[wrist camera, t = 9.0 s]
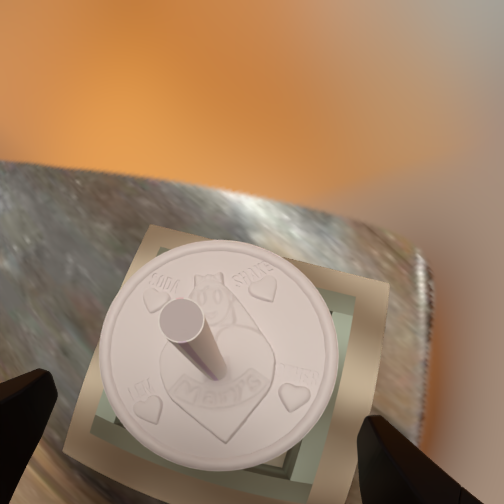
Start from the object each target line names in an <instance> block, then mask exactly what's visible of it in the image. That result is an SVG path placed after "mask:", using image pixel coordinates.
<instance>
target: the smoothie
mask: <svg viewBox="0 0 504 504" xmlns="http://www.w3.org/2000/svg"><path fill="white" fill-rule="evenodd" d="M338 360H339V352H338V340H337V334H336V330H335V326H334V322H333V319H332V316H331V314H330V311H329V309H328V307H327V305H326V303H325V301H324V299H323V298H322V296H321V295H320V293H319V291H318V290H317V289H316V287H315V286H314V285H313V283H312V282H311V281H310V280H309V279H308V278H307V277H306V276H305V275H304V274H303V273H302V272H301V271H300V270H299V269H298V268H296V267H295V266H294V265H292V264H291V263H290V262H288V261H287V260H285V259H284V258H282V257H280V256H279V255H277V254H275V253H273V252H271V251H269V250H266V249H264V248H261V247H259V246H255V245H252V244H248V243H243V242H238V241H229V240H208V241H200V242H194V243H190V244H186V245H182V246H179V247H176V248H173V249H171V250H169V251H167V252H164V253H162V254H161V255H159V256H157V257H155V258H154V259H152V260H151V261H149V262H148V263H146V264H145V265H144V266H142V267H141V268H140V269H139V270H137V271H136V272H135V273H134V274H133V275H132V276H131V277H130V278H129V279H128V281H127V282H126V283H125V284H124V285H123V287H122V288H121V289H120V291H119V292H118V294H117V295H116V297H115V299H114V300H113V302H112V304H111V306H110V308H109V310H108V312H107V315H106V318H105V321H104V323H103V327H102V332H101V337H100V344H99V367H100V374H101V379H102V383H103V387H104V390H105V393H106V396H107V398H108V401H109V403H110V405H111V407H112V409H113V411H114V412H115V414H116V416H117V417H118V419H119V420H120V422H121V423H122V424H123V425H124V427H125V428H126V429H127V430H128V431H129V433H130V434H131V435H132V436H133V437H134V438H135V439H136V440H138V441H139V442H140V443H141V444H142V445H144V446H145V447H146V448H148V449H149V450H151V451H152V452H154V453H155V454H157V455H159V456H160V457H162V458H164V459H166V460H168V461H171V462H173V463H176V464H178V465H182V466H185V467H188V468H193V469H198V470H205V471H233V470H240V469H245V468H249V467H253V466H256V465H259V464H262V463H265V462H267V461H269V460H272V459H274V458H276V457H278V456H279V455H281V454H283V453H284V452H286V451H287V450H289V449H290V448H292V447H293V446H294V445H295V444H297V443H298V442H299V441H300V440H301V439H302V438H303V437H304V436H305V435H306V434H307V433H308V432H309V431H310V430H311V429H312V428H313V426H314V425H315V424H316V423H317V421H318V420H319V418H320V417H321V415H322V414H323V412H324V410H325V408H326V406H327V404H328V402H329V400H330V397H331V395H332V392H333V389H334V385H335V382H336V377H337V371H338Z"/></svg>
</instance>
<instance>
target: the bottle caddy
mask: <svg viewBox="0 0 504 504" xmlns="http://www.w3.org/2000/svg"><path fill="white" fill-rule="evenodd" d="M208 240H213V239H209V238H205V237H201V236H197V235H193V234H189V233H185V232H181V231H176V230H172V229H168V228H164V227H160V226H156V225H152V224H150V226H149V228H148V230H147V232H146V234H145V236H144V238H143V240H142V243H141V245H140V247H139V249H138V251H137V253H136V255H135V257H134V259H133V262H132V264H131V266H130V268H129V270H128V272H127V275H126V277H125V279H124V281H123V284H122V286H121V288H122V287H123V285H124V284H125V283H126V282H127V281H128V279H129V278H130V277H131V276H132V275H133V274H134V273H135V272H136V271H137V270H139V269H140V268H141V267H142V266H144V265H145V264H146V263H148V262H149V261H151V260H152V259H154V258H155V257H157V256H159V255H161V254H162V253H164V252H167V251H169V250H171V249H173V248H176V247H179V246H182V245H186V244H190V243H194V242H200V241H208ZM280 257H281V256H280ZM282 258H284V259H285V260H287V261H288V262H290V263H291V264H292V265H294V266H295V267H296V268H298V269H299V270H300V271H301V272H302V273H303V274H304V275H305V276H306V277H307V278H308V279H309V280H310V281H311V282H312V283H313V285H314V286H315V287H316V289H317V290H318V291H319V293H320V295H321V296H322V298H323V299H324V301H325V303H326V305H327V307H328V309H329V311H330V314H331V316H332V319H333V322H334V326H335V330H336V334H337V340H338V352H339V360H338V371H337V377H336V382H335V385H334V389H333V392H332V395H331V397H330V400H329V402H328V404H327V406H326V408H325V410H324V412H323V414H322V415H321V417H320V418H319V420H318V421H317V423H316V424H315V425H314V426H313V428H312V429H311V430H310V431H309V432H308V433H307V434H306V435H305V436H304V437H303V438H302V439H301V440H300V441H299V442H298V443H297V444H295V445H294V446H293V447H292V448H290V449H289V450H287V451H286V452H284V453H283V454H281V455H279V456H278V457H276V458H274V459H272V460H269V461H267V462H265V463H262V464H259V465H256V466H253V467H249V468H245V469H240V470H233V471H205V470H198V469H193V468H188V467H185V466H182V465H178V464H176V463H173V462H171V461H168V460H166V459H164V458H162V457H160V456H159V455H157V454H155V453H154V452H152V451H151V450H149V449H148V448H146V447H145V446H144V445H142V444H141V443H140V442H139V441H138V440H136V439H135V438H134V437H133V436H132V435H131V434H130V433H129V431H128V430H127V429H126V428H125V427H124V425H123V424H122V423H121V422H120V420H119V419H118V417H117V416H116V414H115V412H114V411H113V409H112V407H111V405H110V403H109V401H108V398H107V396H106V393H105V390H104V387H103V383H102V379H101V374H100V367H99V344H100V339H99V342H98V344H97V347H96V349H95V352H94V355H93V357H92V360H91V363H90V366H89V368H88V371H87V374H86V377H85V380H84V383H83V386H82V388H81V391H80V394H79V397H78V401H77V404H76V407H75V410H74V413H73V416H72V420H71V423H70V426H69V430H68V433H67V436H66V440H65V444H64V447H63V451H62V452H64V453H65V454H67V455H69V456H70V457H72V458H74V459H76V460H77V461H79V462H81V463H83V464H84V465H86V466H88V467H90V468H92V469H93V470H95V471H97V472H99V473H101V474H103V475H105V476H107V477H109V478H111V479H113V480H115V481H117V482H119V483H121V484H124V485H126V486H128V487H130V488H132V489H135V490H137V491H139V492H142V493H144V494H146V495H149V496H151V497H154V498H156V499H159V500H161V501H164V502H167V503H169V504H345V501H346V498H347V495H348V492H349V489H350V486H351V483H352V479H353V476H354V473H355V469H356V466H357V462H358V455H357V435H358V433H359V430H360V428H361V425H362V423H363V421H364V418H365V417H366V416H368V415H370V410H371V406H372V401H373V396H374V391H375V386H376V381H377V375H378V370H379V364H380V358H381V351H382V345H383V338H384V331H385V323H386V315H387V306H388V297H389V286H390V284H388V283H384V282H380V281H376V280H372V279H368V278H365V277H361V276H357V275H353V274H349V273H345V272H341V271H337V270H333V269H329V268H325V267H321V266H317V265H313V264H309V263H305V262H301V261H297V260H293V259H289V258H285V257H282ZM121 288H120V289H121ZM119 291H120V290H119ZM100 337H101V336H100Z"/></svg>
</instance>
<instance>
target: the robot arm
mask: <svg viewBox="0 0 504 504" xmlns="http://www.w3.org/2000/svg"><path fill="white" fill-rule="evenodd" d="M57 397H58V392H57V389H56V386H55V383H54V380H53V376H52V374H51V373H50V372H49V371H47V370H44V369H40V368H39V369H36V370H33V371H31V372H28V373H25V374H23V375H20V376H18V377H15V378H13V379H10V380H7V381H5V382H2V383H0V504H9V502H10V500H11V498H12V496H13V493H14V491H15V489H16V487H17V485H18V483H19V481H20V478H21V476H22V474H23V472H24V470H25V468H26V466H27V464H28V462H29V460H30V458H31V456H32V454H33V452H34V450H35V448H36V446H37V445H38V443H39V441H40V439H41V437H42V434H43V432H44V430H45V427H46V425H47V422H48V420H49V417H50V415H51V412H52V410H53V408H54V405H55V403H56V400H57ZM357 455H358V469H359V485H360V492H361V498H362V503H363V504H484V503H482V502H481V501H480V500H478V499H477V498H476V497H475V496H473V495H472V494H471V493H470V492H468V491H467V490H466V489H465V488H463V487H461V485H460V484H459V483H457V482H456V481H455V480H454V479H453V478H452V477H450V476H449V475H448V474H447V473H446V472H445V471H443V470H442V469H441V468H440V467H439V466H438V465H437V464H435V463H434V462H433V461H432V460H431V459H430V458H428V457H427V456H426V455H425V454H424V453H423V452H422V451H421V450H419V449H418V448H417V447H416V446H415V445H414V444H413V443H411V442H410V441H409V440H408V439H407V438H406V437H405V436H404V435H402V434H401V433H400V432H399V431H398V430H397V429H396V428H395V427H394V426H392V425H391V424H390V423H389V422H388V421H387V420H386V419H385V418H384V417H382V416H381V415H368V416H366V417H365V418H364V421H363V423H362V425H361V428H360V430H359V433H358V435H357Z"/></svg>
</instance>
